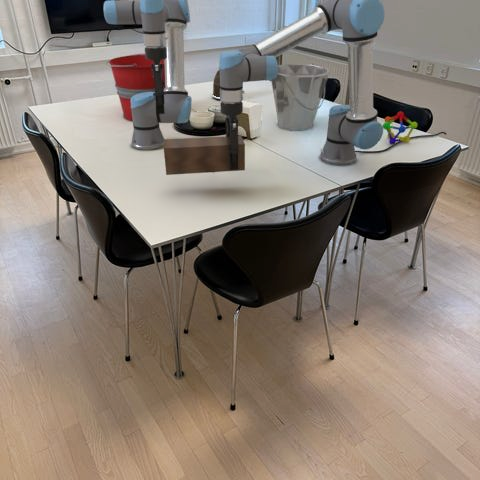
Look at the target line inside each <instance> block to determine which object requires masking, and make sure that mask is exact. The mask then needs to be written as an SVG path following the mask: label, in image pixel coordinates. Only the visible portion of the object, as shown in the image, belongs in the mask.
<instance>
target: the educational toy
mask: <svg viewBox="0 0 480 480" xmlns="http://www.w3.org/2000/svg"><path fill="white" fill-rule="evenodd" d="M397 119H399V124H400V125H399V127H398V126H393V125H391V124H392V123H394V122H395V121H396V120H397ZM403 120H404V121H405V122H407V123H408V124H409V125H407V126H404V123H403ZM382 126H383V130H386V132H387V138H388V142H389V145H394V144H395V143H397V142H399V141H402V142H404V143H409V142H410V140H411V139H410V137H411V134H412V132H413V131H414V130H415V129H417V127H418V122H417V121H411V120H410V119H409V118H408V117H406V116H405V113H404V112H403V111H401V110H400V111H398V112H397V114H396V115H394V116H391V117H390V116H386V117H385V118H384V122H383V123H382ZM392 129H393V130H397V131H398V132H396V134H395V133H394V132H392ZM408 129H409V131H408V133H407V134H406V135H404V136H401V134H403V133H405V132H406V130H408ZM399 135H400V136H399Z"/></svg>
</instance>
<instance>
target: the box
mask: <svg viewBox="0 0 480 480" xmlns="http://www.w3.org/2000/svg"><path fill="white" fill-rule="evenodd" d="M238 145H239V153H238V170H230V153H229V151H230V136H228V137H227V136H226V135H224V136H209V137H208V136H206V137H187V138H186V137H185V138H168V139H167V138H164V146H163V155H164V167H165V175H166V176H173V175H188V174H189V175H190V174H205V173H222V172H223V173H225V172H239V171H245V170H246V144H245V141H244V138H243V136H242V135H238Z"/></svg>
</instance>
